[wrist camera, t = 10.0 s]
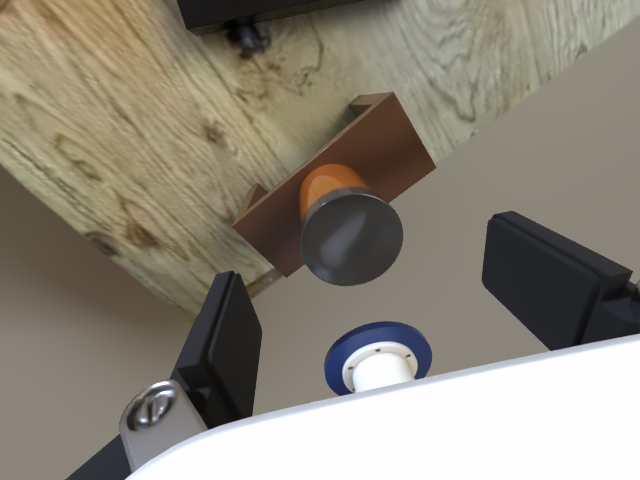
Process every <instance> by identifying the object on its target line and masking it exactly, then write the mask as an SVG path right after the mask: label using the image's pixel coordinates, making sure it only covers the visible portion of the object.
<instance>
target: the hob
mask: <svg viewBox="0 0 640 480" xmlns="http://www.w3.org/2000/svg"><path fill="white" fill-rule="evenodd" d="M358 1H363V0H177V3H178V6H179V8H180V11H181V14H182V17H183V20H184V23H185V26H186V29H187V30H188V31H190V32H191V33H193V34H194V35H196V36H202V35H206V34H211V33H216V32H220V31H225V30H229V29H234V28H239V27H243V26H248V25H252V24H257V23H262V22H266V21H271V20H275V19H280V18H285V17H289V16H294V15H298V14H303V13H308V12H312V11H317V10H321V9H326V8H331V7H335V6H340V5H344V4H349V3H354V2H358Z"/></svg>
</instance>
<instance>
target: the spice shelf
mask: <svg viewBox="0 0 640 480" xmlns="http://www.w3.org/2000/svg"><path fill="white" fill-rule="evenodd" d="M349 105H350V106H351V108H352V109H353V111H354V113H355V114H356V116H357V117H358V118H356V119H355V120H354V121H353V122H352V123H350V124H349V125H348V126H347V127H346V128H344V129H343V130H342V131H341V132H340V133H338V134H337V135H336V136H335V137H334V138H332V139H331V140H330V141H329V142H328V143H327V144H325V145H324V146H323V147H322V148H321V149H319V150H318V151H317V152H316V153H315V154H313V155H312V156H311V157H310V158H309V159H307V160H306V161H305V162H304V163H303V164H301V165H300V166H299V167H298V168H297V169H295V170H294V171H293V172H292V173H291V174H290V175H288V176H287V177H286V178H285V179H284V180H282V181H281V182H280V183H279V184H278V185H276V186H275V187H274V188H273V189H272V190H270V191H269V192H268V193H267V192H266V191H265V190H264V188H263V187H262V186H261V185H260V184H259V183H257V184H256V185H254V186H253V187H252V188H251V189H250V190H249V192H248V194H247V196H246V199H245V201H244V203H243V205H242V207H241V209H240V211H239V213H238V215H237V217H236V219H235V221H234V223H233V225H232V228H233V229H235V230H236V231H237V232H238V233H239V234H240V235H241V236H242V237H243V238H244V239H245V240H246V241H247V242H248V243H250V244H251V245H252V246H253V247H254V248H255V249H256V250H257V251H258V252H259V253H260V254H261V255H262V256H263V257H264V258H266V259H267V260H268V261H269V262H270V263H271V264H272V265H273V266H274V267H275V268H276V269H277V270H278V271H279V272H281V273H282V274H283V275H284V276H285V277H286V278H287V277H288V276H290V275H291V274H293V273H294V272H295V271H297V270H298V269H299V268H301V267H302V266H303V265H305V262H304V260H303V257H302V254H301V247H300V227H301V220H300V206H299V192H300V188H301V186H302V183H303V181H304V180H305V178H306V177H307V176H308V175H309V174H310V173H311V172H312V171H313V170H315V169H317V168H318V167H321V166H323V165H327V164H341V165H345V166H347V167H350V168H351V169H353V170H354V171H355V172H357V174H358V175H359V176H360V177H361V178H362V179H363V180H364V181H365V182H366V183H367V184H368V185H369V186H370V188H371V189H372V190H373V191H374V192H375V193H377V194H379V195H380V196H381V197H382V198H384V199H385V200H386V202H387V203H389V202H390V201H392V200H393V199H395V198H396V197H397V196H399V195H400V194H401V193H403V192H404V191H406V190H407V189H408V188H409V187H411V186H412V185H414V184H415V183H416V182H418V181H419V180H420V179H422V178H423V177H425V176H426V175H427V174H428V173H430V172H431V171H433V170H434V169H435V168H436V166H435V164H434V162H433V161H432V159H431V157H430V155H429V153H428V152H427V150H426V148H425V146H424V145H423V143H422V141H421V139H420V138H419V136H418V134H417V132H416V131H415V129H414V127H413V125H412V124H411V122H410V120H409V118H408V116H407V115H406V113H405V111H404V109H403V108H402V106H401V104H400V102H399V101H398V99H397V97H396V95H395V94H394V92H388V93H379V94H370V95H361V96H358V97H357V98H356V99H355V100H353V101H352V102H351V103H350V104H349Z"/></svg>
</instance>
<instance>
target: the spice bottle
mask: <svg viewBox="0 0 640 480" xmlns="http://www.w3.org/2000/svg"><path fill="white" fill-rule="evenodd" d="M299 206H300V220H301V227H300V247H301V254H302V257H303V260H304V262H305V264H306V265H307V267H308V268H309V269H310V271H311V272H312V273H313V274H314V275H316V276H317V277H318V278H320V279H321V280H323V281H325V282H328V283H330V284H333V285H339V286H355V285H361V284H364V283H367V282H370V281H372V280H374V279H376V278H377V277H379V276H380V275H382V274H383V273H384V272H386V271H387V270H388V269H389V267H390V266H392V264H393V263H394V262H395V260H396V258H397V257H398V255H399V252H400V250H401V247H402V242H403V229H402V224H401V221H400V218H399V216H398V214H397V213H396V211H395V210H394V209H393V208H392V207H391V206H390V205H389V204H388V203H387V202H386V200H385V199H384V198H382V197H381V196H380V195H379V194H377V193H375V192H374V191H373V190H372V189H371V188H370V186H369V185H368V184H367V183H366V182H365V181H364V180H363V179H362V178H361V177H360V176H359V175H358V174H357V172H355V171H354V170H353V169H351V168H350V167H347V166H345V165H341V164H327V165H323V166H321V167H318V168H317V169H315V170H313V171H312V172H311V173H310V174H309V175H308V176H307V177H306V178H305V180H304V181H303V183H302V186H301V188H300V192H299Z"/></svg>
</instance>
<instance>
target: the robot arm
mask: <svg viewBox="0 0 640 480" xmlns="http://www.w3.org/2000/svg"><path fill="white" fill-rule="evenodd" d="M632 272H633V271H632V270H630V269H628V268H626V267H624V266H622V265H620V264H618V263H615V262H614V261H611V260H610V259H608V258H606V257H604V256H602V255H600V254H598V253H596V252H594V251H592V250H590V249H588V248H586V247H584V246H582V245H580V244H578V243H576V242H574V241H572V240H570V239H568V238H566V237H564V236H562V235H560V234H558V233H556V232H554V231H552V230H550V229H548V228H546V227H544V226H542V225H540V224H538V223H536V222H534V221H532V220H530V219H528V218H526V217H524V216H522V215H520V214H518V213H516V212H514V211H508V212H503V213H498V214H495V215H493V217H492V219H490V220H489V222H488V226H487V234H486V243H485V253H484V262H483V271H482V282H483V285H484V286H485V288H486V289H487V290H488V291H489V292H490V293H491V294H493V295H494V296H495V297H496V298H497V299H498V300H499V301H500V302H501V303H502V304H503V305H504V306H505V307H506V308H507V309H508V310H509V311H510V312H511V313H512V314H513V315H514V316H515V317H516V318H517V319H519V320H520V321H521V322H522V323H523V324H524V325H525V326H526V327H527V328H528V329H529V330H530V331H531V332H532V333H533V334H534V335H535V336H536V337H537V338H538V339H539V340H540V341H541V342H542V343H543V344H544V345H545V346H546V347H547V348H548V349H549V350H550V352H545V353H540V354H535V355H530V356H525V357H521V358H516V359H512V360H506V361H501V362H497V363H492V364H487V365H483V366H478V367H473V368H469V369H464V370H459V371H454V372H450V373H445V374H440V375H435V376H431V377H426V378H421V379H417V380H415V378H414V376H415V374H416V372H417V367H418V364H417V360H416V358H415V355H414V354H413V352H412V351H411V350H410V349H409V348H408V347H407V346H405V345H403V344H400V343H396V342H389V341H387V342H377V343H372V344H369V345H366V346H364V347H362V348H360V349H358V350H357V351H355V352H354V353H353V354H352V355H351V356H350V357H349V358H348V359H347V361H346V362H345V364H344V366H343V371H342V374H343V380H344V384H345V385H346V387H347V388H348V389H349V390H350V391H351V392H353V393H352V394H348V395H343V396H339V397H334V398H330V399H325V400H320V401H316V402H311V403H307V404H303V405H299V406H294V407H290V408H286V409H282V410H277V411H274V412H269V413H265V414H260V415H256V416H252V413H253V404H254V396H255V388H256V380H257V372H258V363H259V355H260V347H261V339H262V329H261V326H260V323H259V320H258V318H257V315H256V313H255V310H254V308H253V305H252V303H251V300H250V298H249V295H248V293H247V290H246V288H245V285H244V283H243V280H242V278H241V275H240V274H239V273H237V274H235V273H234V271H228V272H224V273H219V274H216V276H215V278H214V281H213V283H212V285H211V288H210V290H209V292H208V295H207V297H206V299H205V302H204V304H203V307H202V309H201V311H200V314H199V315H198V316H197V317H196V319H195V321H194V323H193V326H192V328H191V330H190V333H189V335H188V337H187V340H186V342H185V344H184V347H183V349H182V351H181V353H180V356H179V358H178V360H177V363H176V365H175V368H174V370H173V372H172V374H171V377H170V379H166V380H161V381H158V382H156V383H153V384H151V385H150V386H148V387H147V388H145V389H143V390H142V391H141V392H140V393H139V394H137V395H136V396H135V397H134V398H133V400H132V401H131V402H130V403H129V404H128V405H127V407H126V409H125V410H124V412H123V413H122V416H121V419H120V422H119V431H120V434H119V435H118V436H116V437H115V438H114V439H113V440H112V441H111V442H109V443H108V444H107V445H106V446H105V447H103V448H102V449H101V450H100V451H99V452H98V453H96V454H95V455H94V456H93V457H92V458H90V459H89V460H88V461H87V462H86V463H85V464H83V465H82V466H81V467H80V468H79V469H77V470H76V471H75V472H74V473H73V474H71V475H70V476H69V477H68V478H67V479H66V480H640V280H639V281H638V282H637V284H636V285H635V284H633V283H632V282H630V281H629V279H630V277H631V275H632Z"/></svg>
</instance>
